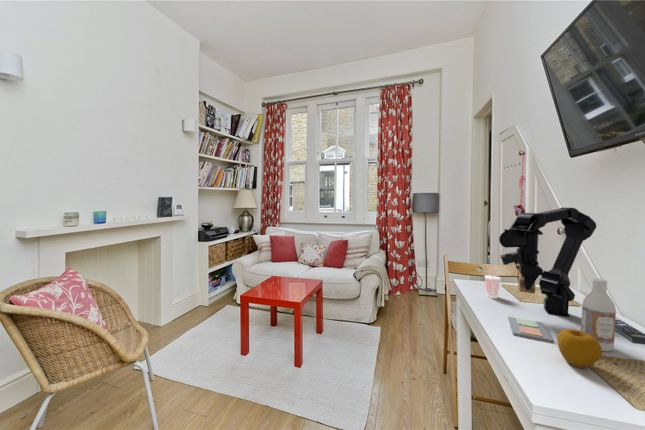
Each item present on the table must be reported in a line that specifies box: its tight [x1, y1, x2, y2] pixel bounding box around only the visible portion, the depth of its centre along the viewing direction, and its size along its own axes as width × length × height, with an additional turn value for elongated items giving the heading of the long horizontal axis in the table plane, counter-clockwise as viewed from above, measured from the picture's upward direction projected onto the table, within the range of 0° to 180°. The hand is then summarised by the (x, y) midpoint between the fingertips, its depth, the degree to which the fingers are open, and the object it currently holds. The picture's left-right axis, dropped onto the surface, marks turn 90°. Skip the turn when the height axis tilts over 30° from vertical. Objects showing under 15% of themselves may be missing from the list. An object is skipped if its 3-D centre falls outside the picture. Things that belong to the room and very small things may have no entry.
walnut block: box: [517, 276, 536, 294], centre depth 102 cm, size 4×4×4 cm
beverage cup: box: [483, 265, 501, 299], centre depth 123 cm, size 6×6×14 cm
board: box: [507, 316, 554, 343], centre depth 91 cm, size 10×14×1 cm
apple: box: [556, 328, 603, 369], centre depth 72 cm, size 8×8×9 cm
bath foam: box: [580, 278, 617, 352], centre depth 80 cm, size 7×7×20 cm
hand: (526, 288), depth 102 cm, fingers closed on walnut block, 4 cm apart
